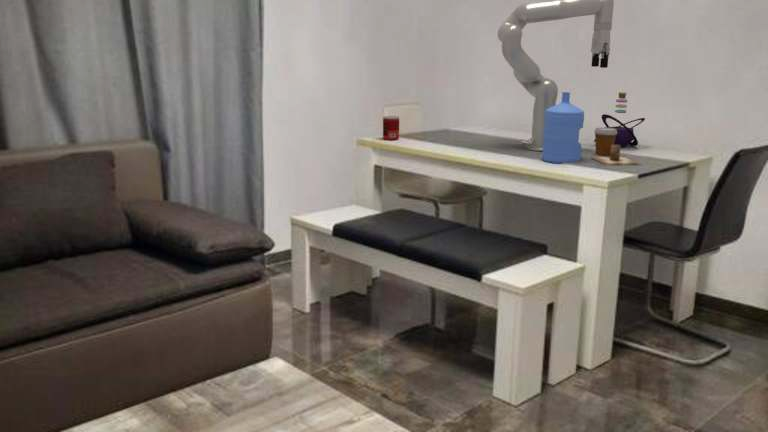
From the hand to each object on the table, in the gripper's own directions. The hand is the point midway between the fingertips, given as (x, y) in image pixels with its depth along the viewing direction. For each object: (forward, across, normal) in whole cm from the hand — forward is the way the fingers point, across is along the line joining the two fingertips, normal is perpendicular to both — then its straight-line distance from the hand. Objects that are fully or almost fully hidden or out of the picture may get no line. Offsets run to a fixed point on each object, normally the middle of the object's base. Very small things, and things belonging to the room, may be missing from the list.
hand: (599, 67), depth 322 cm
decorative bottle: (+37, -7, +15) cm, 41 cm away
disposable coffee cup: (+37, +20, -3) cm, 42 cm away
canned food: (+37, -32, -89) cm, 101 cm away
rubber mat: (+37, +38, -6) cm, 53 cm away
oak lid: (+36, +38, -6) cm, 53 cm away
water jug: (+37, +29, -25) cm, 53 cm away
